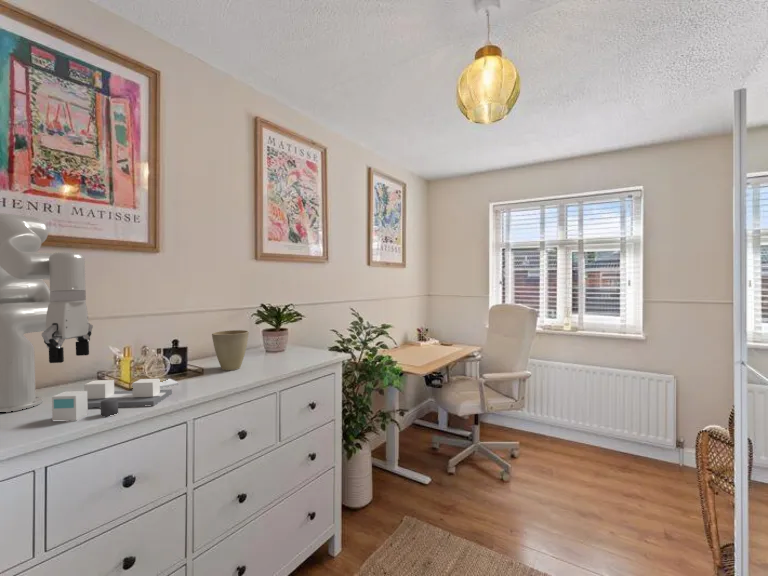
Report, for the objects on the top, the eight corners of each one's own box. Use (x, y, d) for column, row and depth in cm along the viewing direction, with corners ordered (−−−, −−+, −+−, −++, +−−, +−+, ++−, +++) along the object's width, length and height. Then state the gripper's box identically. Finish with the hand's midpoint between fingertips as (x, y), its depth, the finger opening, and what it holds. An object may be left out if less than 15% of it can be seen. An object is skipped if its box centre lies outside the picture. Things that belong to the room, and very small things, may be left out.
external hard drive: (131, 389, 131) (169, 382, 141) (139, 394, 126) (178, 386, 135) (131, 385, 131) (169, 378, 141) (139, 389, 126) (178, 381, 135)
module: (51, 422, 100) (51, 396, 100) (64, 416, 104) (64, 391, 104) (75, 421, 100) (75, 396, 100) (87, 415, 105) (87, 390, 105)
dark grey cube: (97, 417, 103) (97, 403, 103) (106, 412, 107) (106, 398, 107) (112, 416, 104) (112, 402, 104) (121, 411, 108) (121, 398, 108)
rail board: (68, 409, 110) (68, 388, 110) (95, 396, 122) (95, 377, 122) (153, 406, 112) (153, 385, 112) (171, 393, 124) (171, 375, 124)
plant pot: (255, 364, 167) (254, 330, 166) (238, 373, 152) (238, 334, 152) (223, 364, 168) (223, 329, 168) (204, 372, 154) (204, 334, 153)
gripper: (76, 296, 110) (77, 353, 110) (26, 299, 93) (28, 366, 93) (103, 296, 111) (104, 352, 111) (59, 298, 94) (61, 365, 94)
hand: (70, 358), depth 102 cm, fingers open, 9 cm apart
